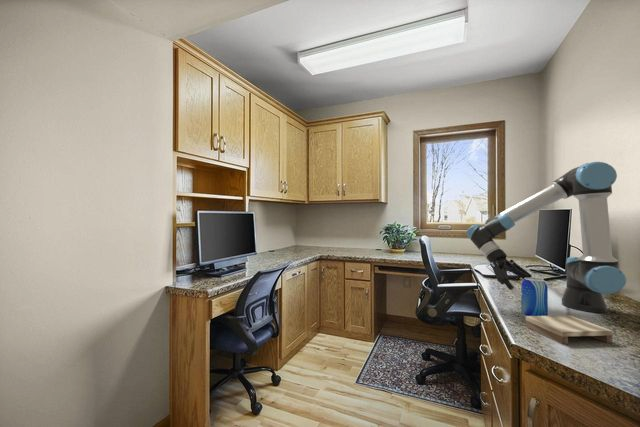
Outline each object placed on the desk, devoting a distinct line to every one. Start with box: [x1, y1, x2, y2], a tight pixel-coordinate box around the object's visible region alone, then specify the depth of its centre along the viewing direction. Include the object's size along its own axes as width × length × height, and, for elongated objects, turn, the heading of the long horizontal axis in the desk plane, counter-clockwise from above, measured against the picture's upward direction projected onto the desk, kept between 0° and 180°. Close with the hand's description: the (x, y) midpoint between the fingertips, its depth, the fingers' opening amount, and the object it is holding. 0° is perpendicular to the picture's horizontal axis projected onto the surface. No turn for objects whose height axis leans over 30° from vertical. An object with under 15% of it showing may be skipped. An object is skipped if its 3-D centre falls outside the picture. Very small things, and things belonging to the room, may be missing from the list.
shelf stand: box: [525, 314, 613, 345], centre depth 95 cm, size 18×14×4 cm
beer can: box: [520, 277, 549, 319], centre depth 110 cm, size 8×8×16 cm
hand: (529, 294), depth 111 cm, fingers open, 13 cm apart
